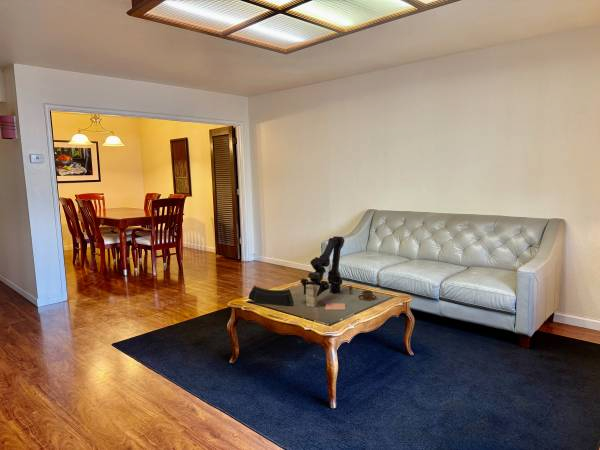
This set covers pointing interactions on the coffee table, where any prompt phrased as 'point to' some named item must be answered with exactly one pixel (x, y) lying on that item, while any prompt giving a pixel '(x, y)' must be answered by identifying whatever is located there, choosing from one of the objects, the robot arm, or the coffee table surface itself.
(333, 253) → the robot arm
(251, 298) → the black flat curved piece
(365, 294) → the place setting
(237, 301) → the coffee table surface
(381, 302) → the coffee table surface
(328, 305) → the terracotta mat
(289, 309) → the coffee table surface
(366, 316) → the coffee table surface
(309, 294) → the birch block
